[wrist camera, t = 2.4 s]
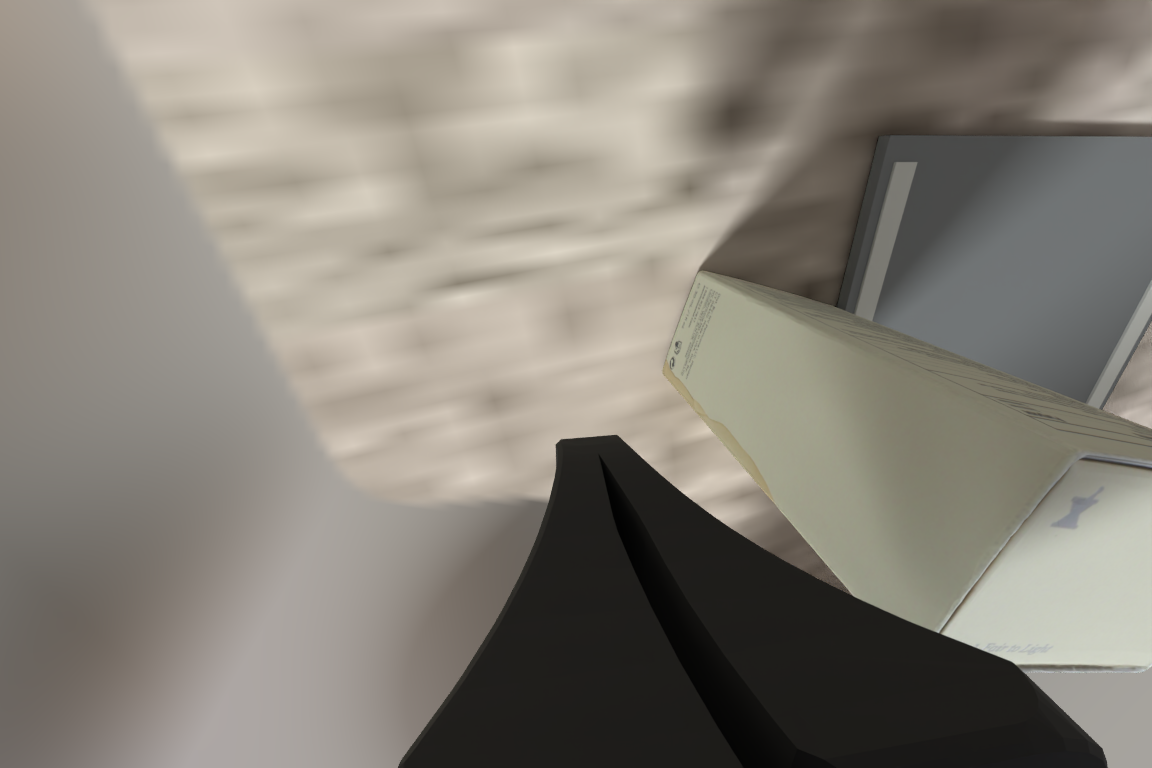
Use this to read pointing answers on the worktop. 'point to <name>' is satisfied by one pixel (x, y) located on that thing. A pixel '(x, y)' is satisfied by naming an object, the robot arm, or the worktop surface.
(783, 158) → the worktop surface
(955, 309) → the mat
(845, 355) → the skincare box
